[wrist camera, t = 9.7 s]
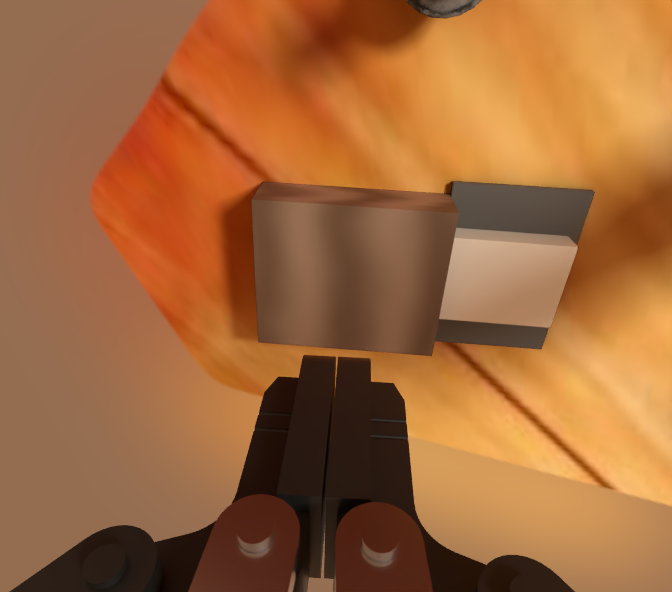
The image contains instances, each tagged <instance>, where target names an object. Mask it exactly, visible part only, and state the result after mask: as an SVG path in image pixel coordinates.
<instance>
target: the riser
mask: <svg viewBox="0 0 672 592" xmlns="http://www.w3.org/2000/svg"><path fill="white" fill-rule="evenodd" d="M251 202H252V224H253V245H254V266H255V287H256V308H257V329H258V342H260V343H273V344H286V345H299V346H311V347H324V348H337V349H350V350H362V351H375V352H388V353H401V354H413V355H426V356H432V352H433V347H434V342H435V337H436V332H437V326H438V321H439V316H440V311H441V305H442V300H443V295H444V290H445V284H446V279H447V274H448V269H449V264H450V258H451V253H452V248H453V243H454V237H455V232H456V227H457V222H458V216H459V212H458V210H457V208H456V205H455V203H454V201H453V199H452V197H451V194H440V193H425V192H410V191H395V190H380V189H365V188H350V187H335V186H320V185H305V184H290V183H275V182H263V183H262V184H261V186H260V187H259V189H258V190H257V192H256V193H255V195H254V196H253V198H252V199H251Z"/></svg>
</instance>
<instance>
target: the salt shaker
mask: <svg viewBox="0 0 672 592" xmlns="http://www.w3.org/2000/svg"><path fill="white" fill-rule="evenodd" d="M406 1H407V3H408V4H409V5H411V6H412V7H413V8H414V9H415V10H417V11H418V12H419V13H422V14H424V15H427V16H429V17H432V18H450V17H454V16H459V15H461V14H463V13H465V12H467V11H469V10H470V9H472V8H474V7H475V6H476V5H477V4H478V3H479V2H480V1H481V0H406Z"/></svg>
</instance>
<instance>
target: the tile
mask: <svg viewBox="0 0 672 592" xmlns="http://www.w3.org/2000/svg"><path fill="white" fill-rule="evenodd" d="M577 250H578V246H577V245H576V244H575V243H574V242H573V241H572V240H571V239H570V237H569V236H560V235H547V234H533V233H520V232H506V231H493V230H479V229H466V228H456V232H455V237H454V243H453V248H452V253H451V258H450V264H449V269H448V274H447V279H446V284H445V290H444V295H443V300H442V305H441V311H440V316H439V319H447V320H460V321H472V322H485V323H497V324H510V325H522V326H534V327H547V328H550V327H551V324H552V321H553V319H554V316H555V313H556V310H557V307H558V304H559V301H560V298H561V296H562V293H563V290H564V287H565V284H566V281H567V278H568V275H569V273H570V270H571V267H572V264H573V261H574V258H575V255H576V252H577Z"/></svg>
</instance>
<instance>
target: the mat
mask: <svg viewBox="0 0 672 592" xmlns="http://www.w3.org/2000/svg"><path fill="white" fill-rule="evenodd" d="M594 193H595V192H594V191H592V190H583V189H568V188H552V187H537V186H522V185H507V184H492V183H476V182H461V181H453V183H452V188H451V197H452V199H453V201H454V203H455V205H456V208H457V210H458V212H459V216H458V222H457V227H456V228H466V229H479V230H493V231H506V232H520V233H533V234H547V235H560V236H569V237H570V239H571V240H572V241H573V242H574V243H575V244H576V245H577V243H578V240H579V237H580V234H581V231H582V228H583V225H584V222H585V219H586V216H587V213H588V210H589V207H590V205H591V202H592V199H593V196H594ZM547 331H548V328H547V327H534V326H522V325H510V324H497V323H485V322H472V321H460V320H447V319H439V321H438V326H437V332H436V337H435V341H441V342H454V343H467V344H480V345H493V346H506V347H519V348H532V349H542V346H543V343H544V340H545V337H546V334H547Z"/></svg>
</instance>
